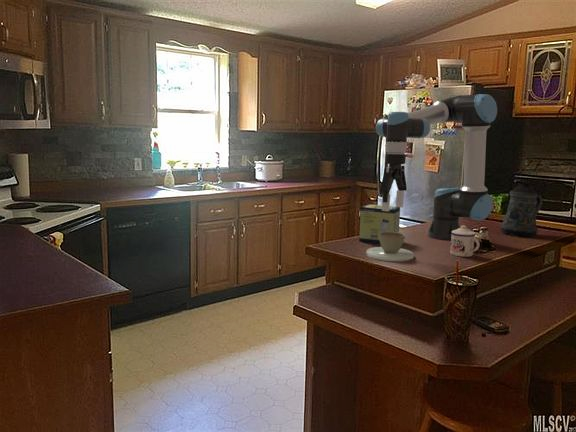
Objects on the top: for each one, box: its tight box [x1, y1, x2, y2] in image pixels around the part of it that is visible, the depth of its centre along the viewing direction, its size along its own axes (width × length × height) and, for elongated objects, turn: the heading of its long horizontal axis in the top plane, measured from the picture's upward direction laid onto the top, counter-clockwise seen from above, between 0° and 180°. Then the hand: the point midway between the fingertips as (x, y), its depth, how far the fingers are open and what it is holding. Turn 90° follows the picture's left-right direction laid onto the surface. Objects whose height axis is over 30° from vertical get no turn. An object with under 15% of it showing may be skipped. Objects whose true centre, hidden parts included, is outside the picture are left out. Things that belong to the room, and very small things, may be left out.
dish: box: [366, 246, 415, 263], centre depth 196 cm, size 18×18×2 cm
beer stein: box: [500, 182, 543, 238], centre depth 247 cm, size 16×19×25 cm
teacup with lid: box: [449, 225, 480, 258], centre depth 200 cm, size 12×9×12 cm
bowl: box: [379, 232, 406, 253], centre depth 196 cm, size 10×10×7 cm
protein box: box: [358, 204, 401, 245], centre depth 222 cm, size 10×16×16 cm
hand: (392, 209), depth 194 cm, fingers open, 13 cm apart
